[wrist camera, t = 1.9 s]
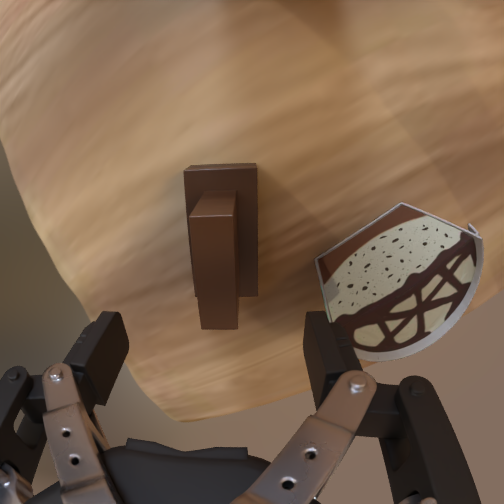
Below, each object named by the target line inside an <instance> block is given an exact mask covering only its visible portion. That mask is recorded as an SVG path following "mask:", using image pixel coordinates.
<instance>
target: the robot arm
mask: <svg viewBox="0 0 504 504" xmlns="http://www.w3.org/2000/svg"><path fill="white" fill-rule="evenodd" d="M128 351H129V340H128V336H127V333H126V330H125V327H124V323H123V320H122V317H121V314H120V313H119V312H110V311H103V312H102V313H101V314H100V316H99V317H98V319H97V320H96V322H95V321H93V322H92V323H91V324H89V325H88V326H87V327H85V329H84V330H83V332H82V333H81V335H80V337H79V338H78V339H77V341H76V343H75V344H74V345H73V347H72V348H71V350H70V352H69V353H68V355H67V356H66V358H65V359H64V361H63V363H56V364H53V365H51V366H49V367H48V368H47V369H46V370H45V371H44V373H43V375H33V376H30V375H29V374H28V372H27V370H26V369H25V368H24V367H22V366H15V367H12V368H10V369H9V370H7V371H6V372H5V374H4V375H3V377H2V378H1V380H0V504H321V503H319V502H318V501H317V498H318V497H319V495H320V494H321V492H322V491H323V489H324V488H325V486H326V485H327V483H328V482H329V480H330V479H331V477H332V475H333V474H334V472H335V470H336V469H337V467H338V466H339V463H340V462H341V461H342V459H343V457H344V455H345V454H346V452H347V450H348V448H349V447H350V445H351V443H352V442H353V440H354V438H355V436H366V437H378V438H379V442H380V446H381V450H382V454H383V457H384V462H385V466H386V470H387V474H388V479H389V483H390V487H391V492H392V496H393V501H394V504H481V501H480V498H479V495H478V492H477V489H476V486H475V483H474V480H473V477H472V475H471V472H470V469H469V467H468V464H467V461H466V459H465V457H464V454H463V452H462V449H461V447H460V444H459V442H458V439H457V437H456V435H455V432H454V430H453V428H452V425H451V423H450V421H449V419H448V416H447V414H446V412H445V410H444V408H443V406H442V404H441V401H440V400H439V397H438V395H437V393H436V391H435V389H434V387H433V385H432V384H431V383H430V382H429V381H428V380H427V379H425V378H423V377H420V376H409V377H406V378H404V379H403V380H402V381H401V382H400V384H399V385H387V384H380V383H377V382H376V381H375V379H374V378H373V377H372V376H371V375H370V374H368V373H366V372H364V371H363V369H362V367H361V365H360V362H359V360H358V357H357V355H356V353H355V350H354V348H353V346H352V343H351V341H350V339H349V336H348V334H347V332H346V330H345V328H344V327H342V326H341V325H340V324H339V323H338V322H329V320H328V317H327V315H326V312H325V311H312V312H307V313H306V319H305V329H304V338H303V351H304V357H305V361H306V366H307V370H308V374H309V379H310V383H311V388H312V392H313V397H314V402H315V406H316V411H317V412H316V413H315V414H314V415H310V416H308V417H307V419H306V420H305V421H304V422H303V424H302V425H301V427H300V428H299V429H298V431H297V432H296V433H295V434H294V436H293V437H292V438H291V439H290V441H289V442H288V443H287V445H286V446H285V447H284V448H283V449H282V451H281V452H280V453H279V454H278V456H277V457H276V458H275V459H274V460H273V462H272V463H271V462H269V461H266V460H264V459H262V458H258V457H255V456H251V455H248V450H247V447H213V448H208V449H201V450H195V451H186V452H184V451H179V450H176V449H173V448H170V447H167V446H164V445H162V444H159V443H156V442H150V441H144V440H137V439H132V438H128V439H127V442H126V446H118V447H114V448H110V446H109V444H108V442H107V439H106V437H105V435H104V432H103V430H102V428H101V425H100V423H99V420H98V418H97V415H96V413H95V411H94V409H93V408H94V406H95V404H98V405H104V406H105V405H106V403H107V400H108V398H109V395H110V393H111V390H112V388H113V386H114V383H115V381H116V379H117V376H118V374H119V372H120V369H121V367H122V365H123V363H124V360H125V358H126V356H127V354H128ZM20 409H21V410H22V411H23V413H24V414H25V416H24V418H23V420H22V422H21V424H20V426H19V428H18V431H17V433H15V431H14V427H13V426H14V421H15V419H16V417H17V415H18V413H19V411H20ZM47 439H48V444H49V448H50V451H51V455H52V458H53V462H54V465H55V468H56V472H57V476H58V478H59V481H58V482H56V483H55V484H53V485H51V486H50V487H48V488H47V489H45V490H43V491H42V492H40V493H38V494H37V495H35V496H34V495H33V489H32V486H31V485H32V482H33V478H34V475H35V472H36V469H37V466H38V463H39V460H40V457H41V455H42V452H43V449H44V447H45V444H46V441H47Z"/></svg>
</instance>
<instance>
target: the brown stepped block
mask: <svg viewBox="0 0 504 504" xmlns="http://www.w3.org/2000/svg"><path fill="white" fill-rule="evenodd" d="M184 186H185V199H186V212H187V224H188V235H189V245H190V255H191V264H192V273H193V281H194V290H195V297H197V299H198V307H199V315H200V322H201V329H238V312H239V297H250V296H258V205H257V166H256V163H239V164H210V165H191V166H190V167H188V168H187V169H185V170H184Z"/></svg>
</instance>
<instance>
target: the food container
mask: <svg viewBox="0 0 504 504" xmlns="http://www.w3.org/2000/svg"><path fill="white" fill-rule="evenodd" d="M468 229H469V231H468V230H466V229H464V228H462V227H460V226H457V225H455V224H453V223H451V222H449V221H446V220H444V219H442V218H440V217H437V216H435V215H433V214H430V213H428V212H426V211H423V210H421V209H418V208H416V207H414V206H411V205H409V204H406V203H404V202H401V203H399V204H398V205H396V206H395V207H393V208H392V209H390V210H389V211H387V212H386V213H384V214H383V215H381V216H380V217H378V218H377V219H375V220H374V221H372V222H371V223H369V224H368V225H366V226H365V227H363V228H362V229H360V230H358V231H357V232H355V233H354V234H352V235H351V236H349V237H348V238H346V239H345V240H343V241H342V242H340V243H338V244H337V245H335V246H334V247H332V248H331V249H329V250H327V251H326V252H324V253H323V254H321V255H320V256H318V257H316V258H315V259H314V260H315V265H316V269H317V273H318V277H319V282H320V286H321V290H322V295H323V299H324V304H325V309H326V313H327V317H328V320H329V322H338V323H339V324H340V325H341V326H342V327H344V328H345V330H346V332H347V334H348V336H349V339H350V341H351V343H352V346H353V348H354V350H355V353H356V355H357V357H358V359H361V360H366V361H373V362H385V361H393V360H398V359H402V358H405V357H408V356H411V355H413V354H415V353H417V352H420V351H421V350H423V349H425V348H427V347H428V346H430V345H432V344H433V343H435V342H436V341H437V340H439V339H440V338H441V337H442V336H443V335H445V334H446V332H448V331H449V330H450V329H451V328H452V327H453V326H454V325H455V323H456V322H457V321H458V320H459V319H460V318H461V316H462V315H463V313H464V312H465V310H466V309H467V307H468V306H469V304H470V302H471V300H472V298H473V296H474V294H475V292H476V289H477V287H478V284H479V281H480V277H481V274H482V268H483V261H484V247H483V239H482V238H481V237H480V235H479V232H478V231H477V230H476V229H475V228H474V227H473V226H472V225H471V224H470V223H469V224H468Z"/></svg>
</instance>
